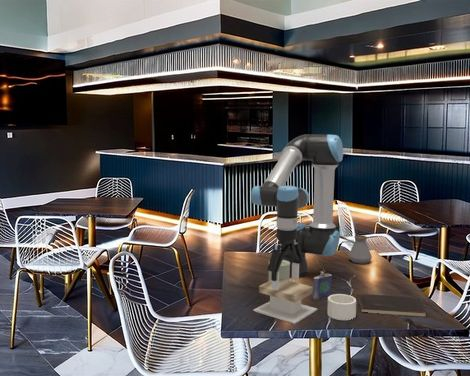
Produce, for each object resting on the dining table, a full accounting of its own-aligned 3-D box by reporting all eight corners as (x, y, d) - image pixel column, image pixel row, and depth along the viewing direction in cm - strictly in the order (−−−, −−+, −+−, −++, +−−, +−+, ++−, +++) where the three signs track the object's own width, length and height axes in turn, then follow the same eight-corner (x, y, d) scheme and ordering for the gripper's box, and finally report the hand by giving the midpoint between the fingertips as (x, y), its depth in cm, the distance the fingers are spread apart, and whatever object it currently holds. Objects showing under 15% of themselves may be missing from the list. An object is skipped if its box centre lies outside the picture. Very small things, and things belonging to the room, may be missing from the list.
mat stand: (253, 311, 177) (253, 293, 176) (277, 298, 189) (277, 282, 188) (294, 324, 165) (294, 305, 164) (317, 310, 178) (317, 292, 177)
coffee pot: (368, 258, 245) (369, 230, 243) (374, 265, 234) (375, 235, 231) (327, 257, 246) (328, 229, 244) (330, 264, 234) (331, 235, 232)
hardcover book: (426, 318, 172) (426, 312, 171) (361, 314, 175) (361, 308, 175) (416, 302, 187) (417, 296, 187) (357, 298, 191) (357, 293, 191)
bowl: (322, 315, 173) (323, 299, 172) (335, 307, 181) (335, 292, 180) (347, 322, 167) (348, 306, 166) (359, 313, 174) (360, 298, 174)
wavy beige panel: (258, 292, 177) (259, 285, 176) (276, 283, 186) (277, 277, 185) (295, 302, 167) (295, 295, 166) (312, 293, 176) (312, 286, 175)
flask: (315, 300, 187) (316, 274, 186) (310, 298, 190) (311, 272, 188) (333, 296, 192) (333, 270, 190) (328, 294, 194) (328, 268, 193)
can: (283, 294, 194) (284, 266, 192) (264, 289, 199) (264, 262, 197) (293, 287, 202) (293, 260, 200) (274, 283, 207) (274, 257, 205)
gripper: (276, 235, 161) (274, 295, 163) (312, 224, 180) (311, 278, 183) (258, 232, 165) (257, 290, 168) (296, 222, 185) (294, 274, 187)
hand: (285, 284), depth 175 cm, fingers open, 13 cm apart
